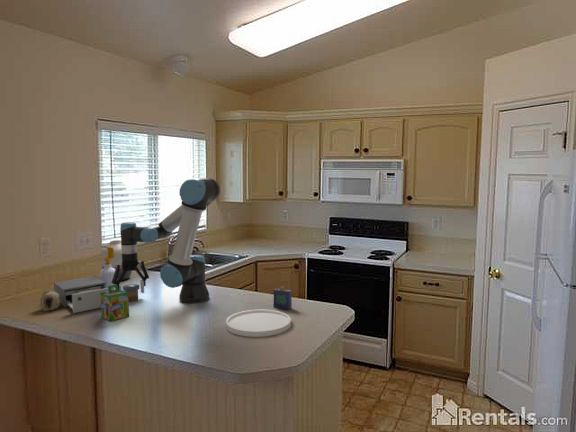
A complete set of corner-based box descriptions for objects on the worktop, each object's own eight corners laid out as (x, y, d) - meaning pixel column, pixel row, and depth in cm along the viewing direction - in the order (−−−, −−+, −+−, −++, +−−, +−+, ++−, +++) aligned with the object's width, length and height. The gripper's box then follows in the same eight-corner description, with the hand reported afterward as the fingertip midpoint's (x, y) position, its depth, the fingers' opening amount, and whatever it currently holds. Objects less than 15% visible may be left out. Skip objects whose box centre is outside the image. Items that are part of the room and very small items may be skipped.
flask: (292, 308, 211) (292, 286, 210) (290, 310, 208) (289, 288, 207) (274, 306, 214) (274, 284, 213) (272, 308, 212) (272, 286, 210)
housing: (106, 299, 228) (105, 282, 227) (64, 307, 215) (63, 289, 214) (95, 292, 242) (94, 276, 241) (55, 299, 229) (53, 282, 228)
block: (138, 300, 226) (137, 289, 225) (128, 302, 222) (128, 290, 222) (134, 298, 229) (134, 287, 229) (125, 300, 226) (124, 288, 225)
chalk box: (111, 322, 194) (109, 289, 192) (100, 317, 200) (98, 285, 198) (130, 316, 201) (128, 285, 199) (119, 312, 207) (118, 281, 205)
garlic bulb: (42, 314, 213) (34, 295, 212) (60, 307, 218) (53, 288, 218) (47, 312, 206) (39, 292, 206) (65, 305, 212) (58, 286, 212)
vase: (107, 276, 278) (105, 239, 275) (135, 275, 280) (133, 238, 277) (98, 283, 261) (96, 243, 259) (128, 282, 263) (126, 243, 260)
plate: (266, 342, 170) (266, 336, 170) (212, 329, 185) (212, 323, 185) (303, 321, 194) (302, 315, 194) (251, 310, 209) (251, 305, 208)
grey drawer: (114, 304, 218) (113, 287, 217) (73, 313, 205) (72, 295, 204) (101, 297, 232) (100, 280, 231) (63, 304, 219) (61, 287, 218)
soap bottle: (96, 290, 245) (94, 247, 242) (109, 286, 253) (106, 244, 251) (109, 292, 242) (106, 248, 239) (121, 287, 250) (119, 245, 247)
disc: (141, 289, 225) (141, 285, 225) (126, 292, 219) (126, 288, 219) (135, 286, 231) (135, 282, 231) (120, 288, 226) (120, 285, 225)
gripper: (148, 248, 234) (150, 288, 236) (103, 254, 218) (105, 297, 221) (154, 250, 228) (156, 291, 230) (108, 256, 213) (110, 300, 215)
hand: (131, 294), depth 225 cm, fingers open, 11 cm apart
